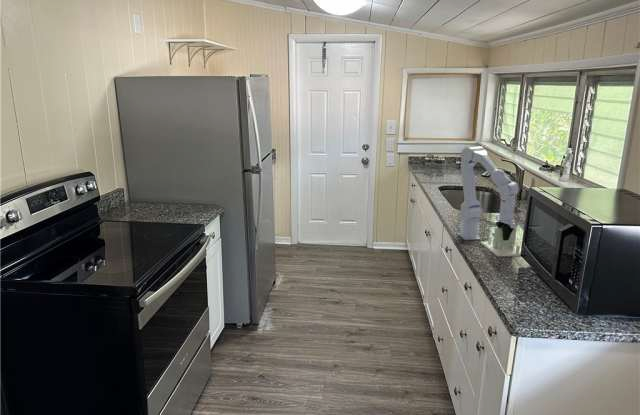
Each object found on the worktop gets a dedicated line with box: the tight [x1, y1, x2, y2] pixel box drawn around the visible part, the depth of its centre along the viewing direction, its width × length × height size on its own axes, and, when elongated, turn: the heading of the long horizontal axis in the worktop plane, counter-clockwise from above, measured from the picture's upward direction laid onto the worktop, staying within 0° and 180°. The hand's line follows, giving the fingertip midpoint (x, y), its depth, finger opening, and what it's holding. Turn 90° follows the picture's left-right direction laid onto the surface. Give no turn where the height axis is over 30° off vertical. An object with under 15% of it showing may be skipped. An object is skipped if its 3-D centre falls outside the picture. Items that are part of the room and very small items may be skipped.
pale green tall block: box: [492, 227, 517, 248], centre depth 196 cm, size 2×9×9 cm, turn 94°
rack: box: [480, 235, 522, 257], centre depth 197 cm, size 17×13×4 cm
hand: (503, 239), depth 196 cm, fingers open, 3 cm apart
